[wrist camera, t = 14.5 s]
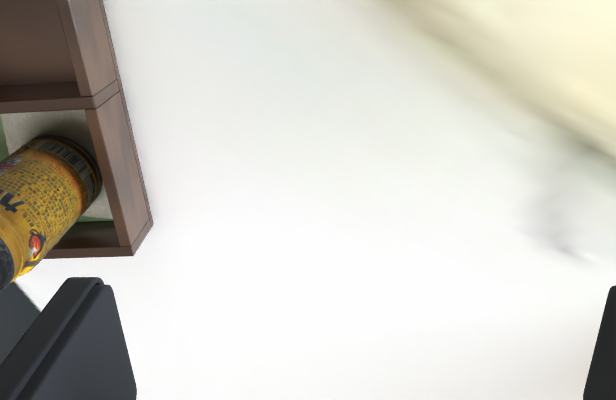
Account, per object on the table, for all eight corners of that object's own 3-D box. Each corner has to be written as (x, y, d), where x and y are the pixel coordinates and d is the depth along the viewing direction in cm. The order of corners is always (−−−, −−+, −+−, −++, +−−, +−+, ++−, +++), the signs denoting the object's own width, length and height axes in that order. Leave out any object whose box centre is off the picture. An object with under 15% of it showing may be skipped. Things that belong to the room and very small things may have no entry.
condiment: (22, 210, 42) (-89, 310, 31) (-1, 101, 38) (-136, 173, 27) (117, 217, 42) (38, 321, 31) (104, 108, 38) (9, 184, 27)
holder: (-101, -85, 34) (-161, -85, 30) (79, -101, 33) (42, -104, 29) (12, 229, 44) (-22, 261, 40) (153, 224, 43) (133, 256, 39)
